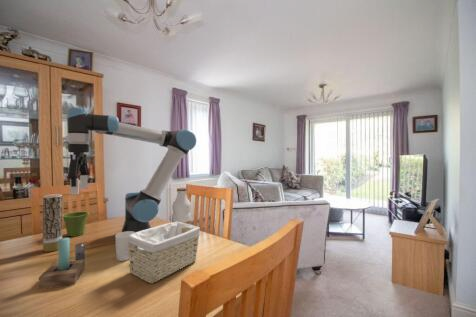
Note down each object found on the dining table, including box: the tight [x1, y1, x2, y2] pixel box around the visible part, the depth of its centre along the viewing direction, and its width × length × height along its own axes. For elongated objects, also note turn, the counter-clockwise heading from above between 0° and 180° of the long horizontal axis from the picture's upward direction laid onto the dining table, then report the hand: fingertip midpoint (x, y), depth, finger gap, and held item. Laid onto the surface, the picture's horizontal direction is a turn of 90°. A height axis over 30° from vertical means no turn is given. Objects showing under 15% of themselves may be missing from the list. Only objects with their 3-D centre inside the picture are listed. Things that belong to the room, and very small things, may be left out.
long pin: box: [57, 237, 71, 271], centre depth 79 cm, size 3×3×14 cm
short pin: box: [74, 242, 86, 261], centre depth 91 cm, size 3×3×7 cm
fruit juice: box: [171, 187, 192, 234], centre depth 111 cm, size 9×9×28 cm
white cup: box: [114, 231, 135, 262], centre depth 96 cm, size 8×8×10 cm
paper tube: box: [42, 193, 63, 253], centre depth 102 cm, size 7×7×25 cm
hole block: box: [38, 258, 86, 290], centre depth 79 cm, size 10×10×4 cm
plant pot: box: [62, 211, 90, 238], centre depth 121 cm, size 12×12×11 cm
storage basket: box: [128, 221, 201, 284], centre depth 88 cm, size 24×16×15 cm
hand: (79, 191), depth 98 cm, fingers open, 13 cm apart
